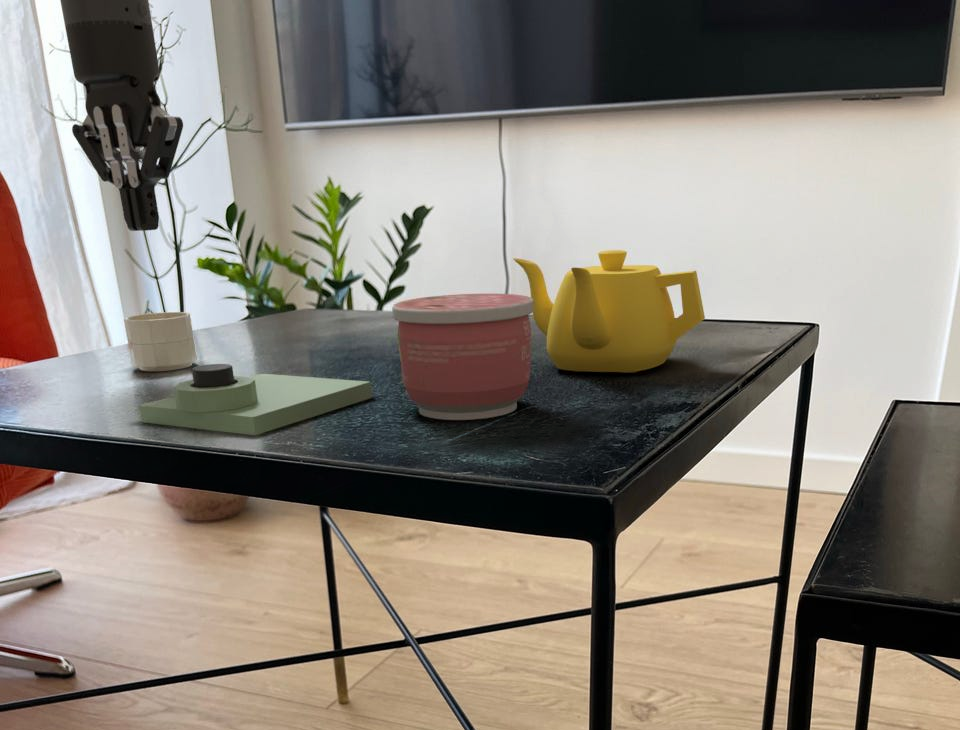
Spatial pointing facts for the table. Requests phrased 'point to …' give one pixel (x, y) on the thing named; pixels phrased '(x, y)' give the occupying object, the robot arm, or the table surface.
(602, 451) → the table surface
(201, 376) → the button
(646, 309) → the teapot
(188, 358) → the cream cup
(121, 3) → the robot arm
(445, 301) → the container
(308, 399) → the scale
